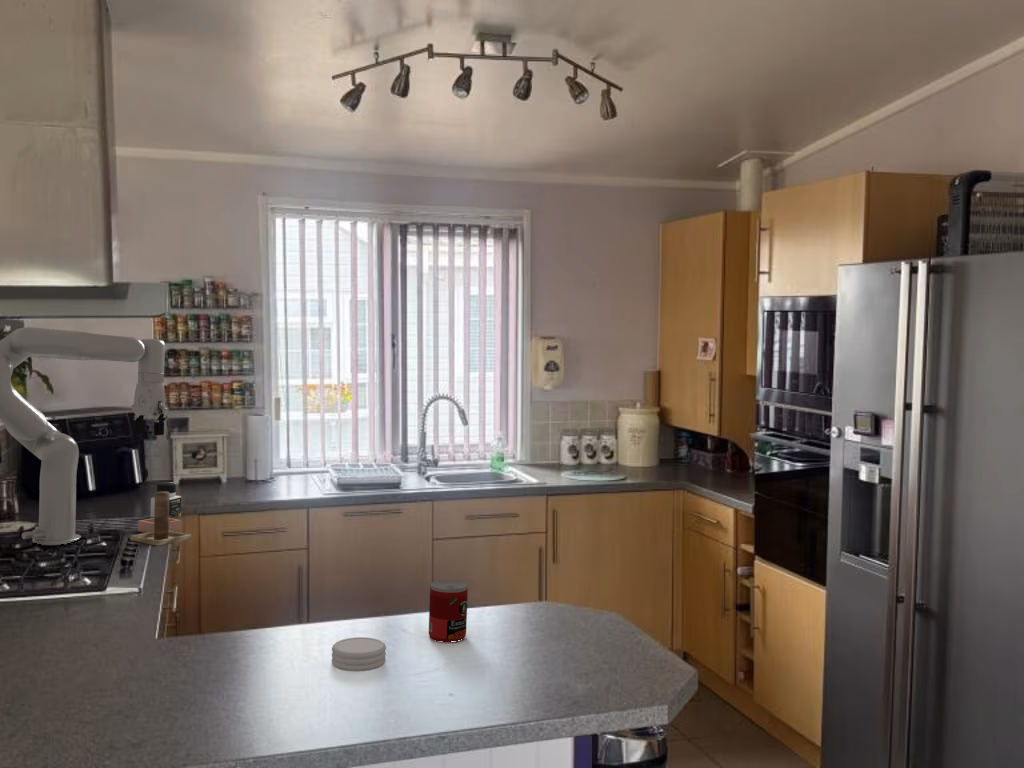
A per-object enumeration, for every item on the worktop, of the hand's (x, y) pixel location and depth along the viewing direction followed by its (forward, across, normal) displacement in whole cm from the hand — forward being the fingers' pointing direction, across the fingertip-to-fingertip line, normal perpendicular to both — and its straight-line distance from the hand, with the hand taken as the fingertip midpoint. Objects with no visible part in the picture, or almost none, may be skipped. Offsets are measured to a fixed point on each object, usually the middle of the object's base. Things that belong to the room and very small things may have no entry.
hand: (149, 433), depth 273 cm
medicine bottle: (+31, -18, +19) cm, 41 cm away
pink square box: (+31, +3, +2) cm, 31 cm away
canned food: (+31, +135, -21) cm, 140 cm away
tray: (+31, +15, -5) cm, 35 cm away
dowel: (+30, +15, -5) cm, 34 cm away
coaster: (+31, +131, -43) cm, 142 cm away
